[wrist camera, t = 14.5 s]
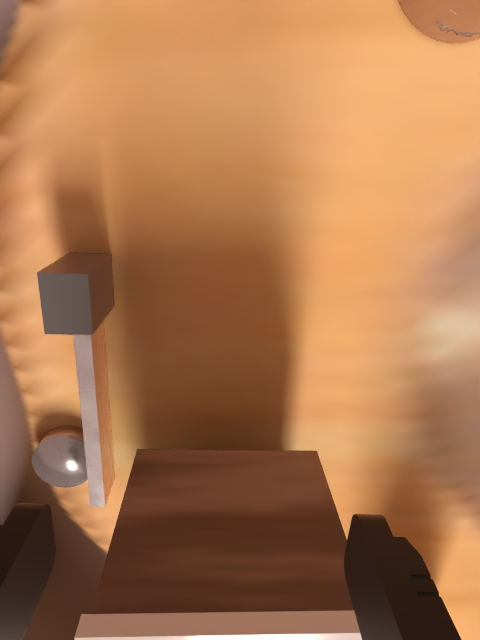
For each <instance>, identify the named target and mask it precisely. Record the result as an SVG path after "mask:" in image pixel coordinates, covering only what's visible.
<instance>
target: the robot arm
mask: <svg viewBox="0 0 480 640" xmlns="http://www.w3.org/2000/svg"><path fill="white" fill-rule="evenodd" d="M399 3H400V5H401V8H402V10H403V12H404V13H405V15H406V16H407V18H408V19H409V20H410V22H411V23H412V24H413V25H414V26H415V27H416V28H417V29H418V30H419V31H421V32H422V33H423V34H425V35H427V36H429V37H431V38H433V39H435V40H437V41H442V42H447V43H462V42H468V41H471V40H474V39H478V38H480V0H399ZM55 551H56V546H55V538H54V530H53V523H52V515H51V508H50V506H49V505H48V504H23V503H19V504H17V505H15V507H14V508H13V509H12V511H11V513H10V514H9V516H8V517H7V519H6V521H5V522H4V524H3V525H0V640H23V637H24V635H25V633H26V630H27V628H28V625H29V623H30V620H31V618H32V616H33V613H34V611H35V609H36V607H37V604H38V602H39V600H40V597H41V595H42V593H43V590H44V588H45V585H46V583H47V581H48V578H49V576H50V574H51V571H52V568H53V564H54V559H55ZM344 572H345V578H346V583H347V586H348V590H349V594H350V597H351V601H352V605H353V608H354V612H355V615H356V619H357V623H358V626H359V630H360V634H361V637H362V640H461V638H460V636H459V634H458V632H457V630H456V628H455V626H454V623H453V621H452V619H451V617H450V615H449V613H448V611H447V609H446V607H445V605H444V603H443V600H442V598H441V597H439V592H438V590H437V588H436V586H435V584H434V582H433V580H431V577H430V576H431V575H430V573H429V571H428V569H427V567H426V565H425V563H424V561H423V559H422V557H421V555H420V554H419V553H418V552H417V550H416V549H415V548H414V547H413V546H412V545H411V544H410V543H409V542H408V541H407V539H406V538H405V537H393V535H392V533H391V530H390V528H389V526H388V523H387V521H386V519H385V517H384V516H382V515H363V514H354V515H353V517H352V520H351V525H350V530H349V535H348V539H347V544H346V549H345V554H344Z"/></svg>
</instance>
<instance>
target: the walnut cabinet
mask: <svg viewBox="0 0 480 640" xmlns="http://www.w3.org/2000/svg"><path fill="white" fill-rule="evenodd" d="M346 544H347V540H346V537H345V534H344V531H343V528H342V525H341V522H340V519H339V516H338V513H337V510H336V507H335V504H334V501H333V498H332V495H331V492H330V489H329V486H328V483H327V480H326V477H325V474H324V471H323V468H322V465H321V462H320V459H319V456H318V453H317V451H275V450H161V449H137V452H136V456H135V459H134V463H133V466H132V470H131V473H130V477H129V480H128V484H127V487H126V491H125V494H124V498H123V501H122V505H121V508H120V512H119V515H118V519H117V522H116V526H115V529H114V533H113V536H112V540H111V543H110V547H109V550H108V554H107V557H106V561H105V564H104V568H103V572H102V575H101V578H100V582H99V585H98V589H97V593H96V596H95V600H94V603H93V607H92V611H91V614H82V615H81V618H80V621H79V625H78V628H77V631H76V635H75V640H362V637H361V634H360V630H359V626H358V623H357V619H356V615H355V612H354V608H353V605H352V601H351V597H350V594H349V590H348V586H347V583H346V578H345V572H344V554H345V549H346Z"/></svg>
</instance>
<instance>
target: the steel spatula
mask: <svg viewBox="0 0 480 640" xmlns="http://www.w3.org/2000/svg"><path fill="white" fill-rule="evenodd" d="M37 275H38V283H39V291H40V299H41V307H42V315H43V323H44V331H45V334H69V335H73V336H74V346H75V356H76V366H77V376H78V386H79V396H80V406H81V417H82V427H83V437H84V447H85V457H86V467H87V477H88V487H89V497H90V507H105V506H106V503H107V500H108V497H109V494H110V491H111V488H112V485H113V481H114V478H115V473H114V459H113V444H112V430H111V416H110V402H109V388H108V374H107V360H106V346H105V332H104V319H105V318H106V316H107V315H108V313H109V312H110V311H111V309H112V308H113V307H114V290H113V274H112V257H111V254H95V253H68V254H67V255H65V256H64V257H62V258H60V259H59V260H57V261H55V262H54V263H52V264H50V265H49V266H47V267H46V268H44V269H42V270H41V271H39V272H37Z"/></svg>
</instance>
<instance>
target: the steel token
mask: <svg viewBox="0 0 480 640" xmlns="http://www.w3.org/2000/svg"><path fill="white" fill-rule="evenodd" d="M32 465H33V468H34V470H35V472H36V473H37V475H38V476H39V477H40V478H41V479H42V480H44V481H45V482H47V483H49V484H51V485H54V486H57V487H74V486H77V485H80V484H82V483H84V482H85V481H86V480H87V479H88V477H87V467H86V457H85V447H84V437H83V429H81V428H78V427H74V426H60V427H56V428H54V429H52V430H50V431H49V432H47V433H46V434H45V436H44V437H43V438H42V440H41V442H40V443H39V445H38V446H37V448H36V449H35V451H34V453H33V456H32Z"/></svg>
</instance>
